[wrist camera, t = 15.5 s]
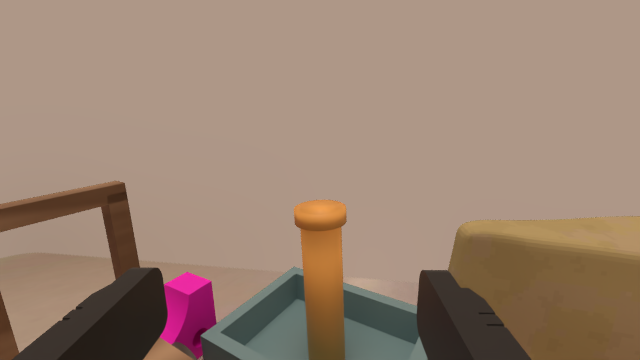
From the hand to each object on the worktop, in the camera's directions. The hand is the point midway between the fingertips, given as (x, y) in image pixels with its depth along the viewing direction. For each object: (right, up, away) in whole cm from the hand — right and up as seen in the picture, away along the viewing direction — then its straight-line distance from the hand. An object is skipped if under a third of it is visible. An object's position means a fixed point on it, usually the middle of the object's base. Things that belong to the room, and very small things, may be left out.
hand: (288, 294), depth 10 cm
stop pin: (+2, -13, +20) cm, 24 cm away
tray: (+2, -14, +20) cm, 25 cm away
